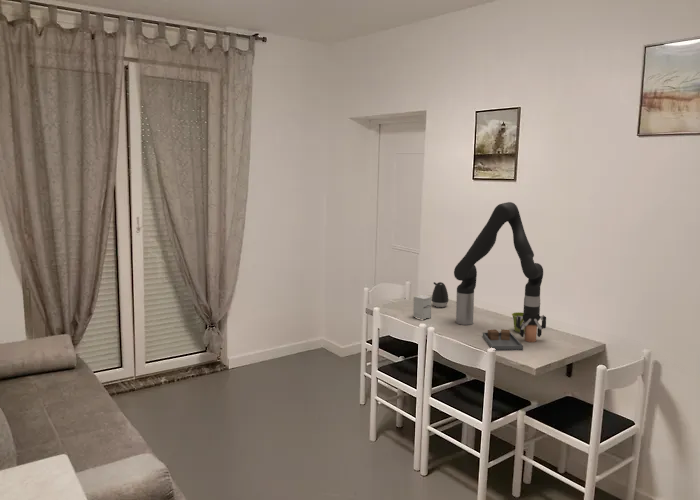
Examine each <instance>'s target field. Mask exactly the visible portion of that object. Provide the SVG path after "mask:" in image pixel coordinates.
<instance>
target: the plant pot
mask: <svg viewBox="0 0 700 500" xmlns="http://www.w3.org/2000/svg"><path fill="white" fill-rule="evenodd" d="M511 315H512V319H513V330H514V331H515V332H516V333H520V329H518V328H517V327H516V317H517V315H518V316H523V312H520V311H519V312H518V311H517V312H513V313H511ZM523 321H524V320H523V319H522V320H521V321H520V326H521V324H522V322H523ZM523 330H524V333H525V328H524V329H523Z"/></svg>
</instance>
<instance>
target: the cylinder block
mask: <svg viewBox="0 0 700 500" xmlns="http://www.w3.org/2000/svg"><path fill="white" fill-rule="evenodd" d="M537 330H538V327H537V325H536V324H535V325H532V324H531V325H527V326H526V327H525V332H524V337H523V341H524V342H527V343H536V342H537Z"/></svg>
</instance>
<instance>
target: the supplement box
mask: <svg viewBox="0 0 700 500" xmlns="http://www.w3.org/2000/svg"><path fill="white" fill-rule="evenodd" d="M412 315H413V316H414V317H417V318H420V319H425V318H430V317H431V318H432V296H430V295H429V296H428V295H425V294H420V295H415V296H413V314H412ZM413 316H412V317H413ZM431 318H430V319H431Z"/></svg>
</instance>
